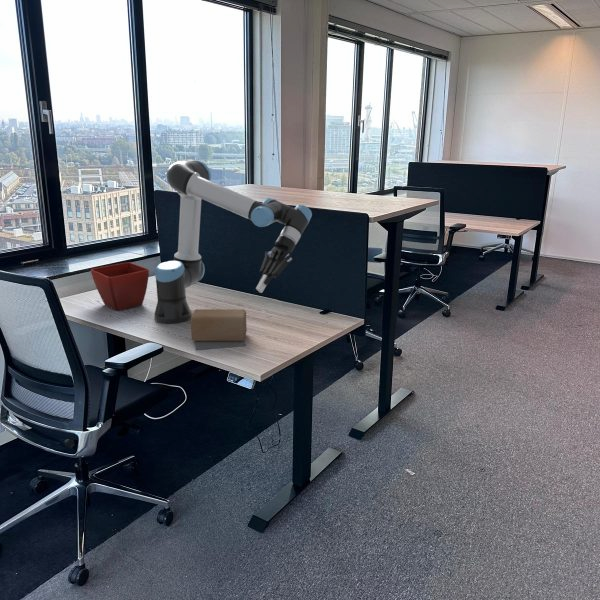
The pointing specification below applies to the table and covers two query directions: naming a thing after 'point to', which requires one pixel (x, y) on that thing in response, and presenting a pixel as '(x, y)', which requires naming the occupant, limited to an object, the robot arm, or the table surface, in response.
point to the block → (218, 325)
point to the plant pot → (121, 284)
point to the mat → (217, 344)
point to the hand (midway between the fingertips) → (258, 290)
